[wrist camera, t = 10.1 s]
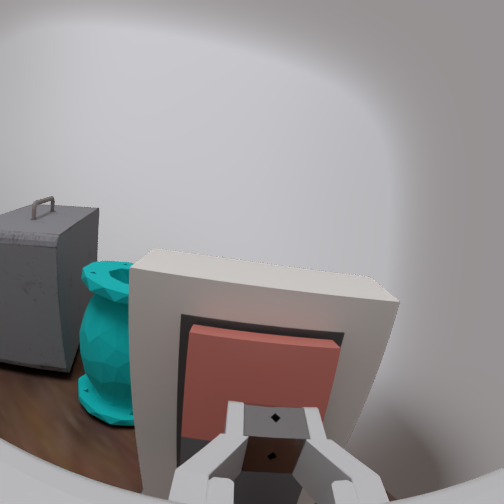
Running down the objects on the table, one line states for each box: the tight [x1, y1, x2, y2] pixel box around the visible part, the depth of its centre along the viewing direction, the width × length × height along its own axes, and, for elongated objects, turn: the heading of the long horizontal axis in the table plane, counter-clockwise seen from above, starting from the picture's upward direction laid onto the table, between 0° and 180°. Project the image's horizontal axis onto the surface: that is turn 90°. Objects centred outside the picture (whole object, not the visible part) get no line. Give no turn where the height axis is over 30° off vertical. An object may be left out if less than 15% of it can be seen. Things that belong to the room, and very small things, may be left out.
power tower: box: [129, 248, 400, 504], centre depth 17 cm, size 12×16×27 cm
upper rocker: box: [180, 324, 341, 504], centre depth 13 cm, size 1×6×10 cm, turn 91°
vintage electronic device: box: [0, 196, 99, 374], centre depth 47 cm, size 32×18×25 cm, turn 17°
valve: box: [78, 261, 135, 426], centre depth 42 cm, size 14×18×30 cm
